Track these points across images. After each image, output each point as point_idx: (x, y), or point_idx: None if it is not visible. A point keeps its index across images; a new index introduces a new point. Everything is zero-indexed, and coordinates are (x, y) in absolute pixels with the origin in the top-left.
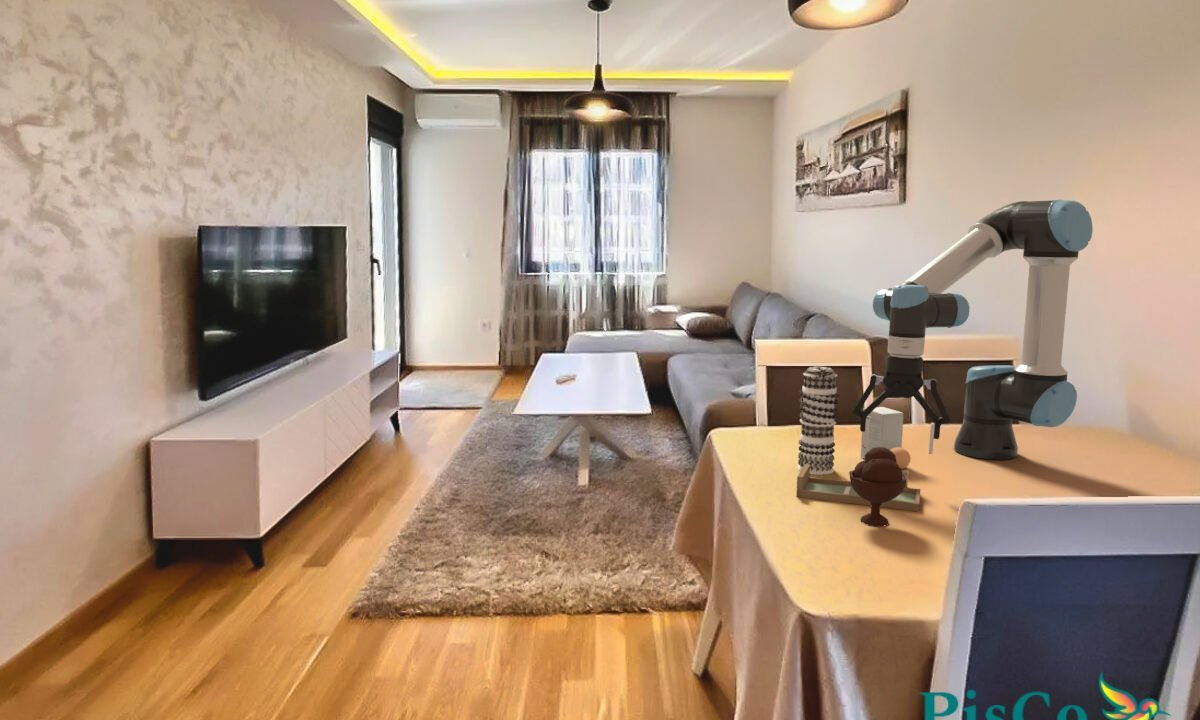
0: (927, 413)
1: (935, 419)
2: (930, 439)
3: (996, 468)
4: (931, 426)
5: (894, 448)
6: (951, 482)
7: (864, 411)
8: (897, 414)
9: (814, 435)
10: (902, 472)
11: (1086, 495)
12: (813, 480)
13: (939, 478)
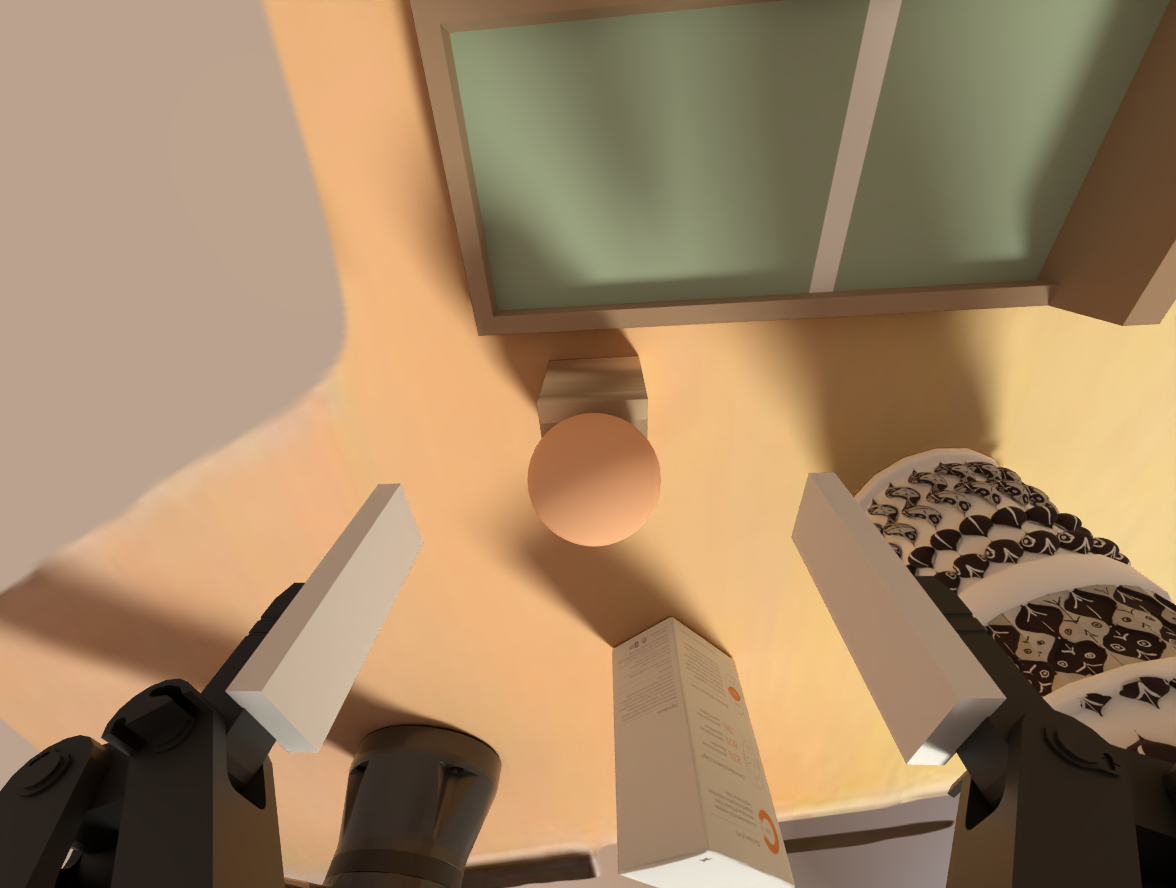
0: (207, 873)
1: (166, 773)
2: (342, 562)
3: (367, 681)
4: (266, 675)
5: (622, 512)
6: (430, 540)
7: (1127, 822)
8: (643, 860)
9: (1127, 600)
10: (566, 398)
11: (61, 563)
12: (1019, 284)
13: (476, 564)
